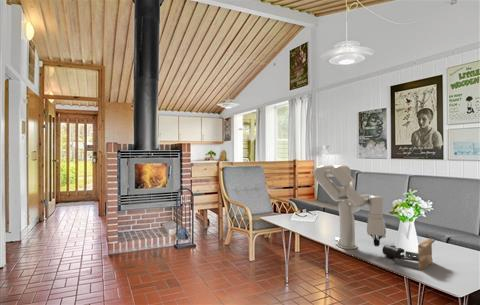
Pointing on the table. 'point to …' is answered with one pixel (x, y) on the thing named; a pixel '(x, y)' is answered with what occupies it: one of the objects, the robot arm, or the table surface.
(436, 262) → the table surface
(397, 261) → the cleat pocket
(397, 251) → the end cap
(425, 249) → the wall board
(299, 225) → the table surface
